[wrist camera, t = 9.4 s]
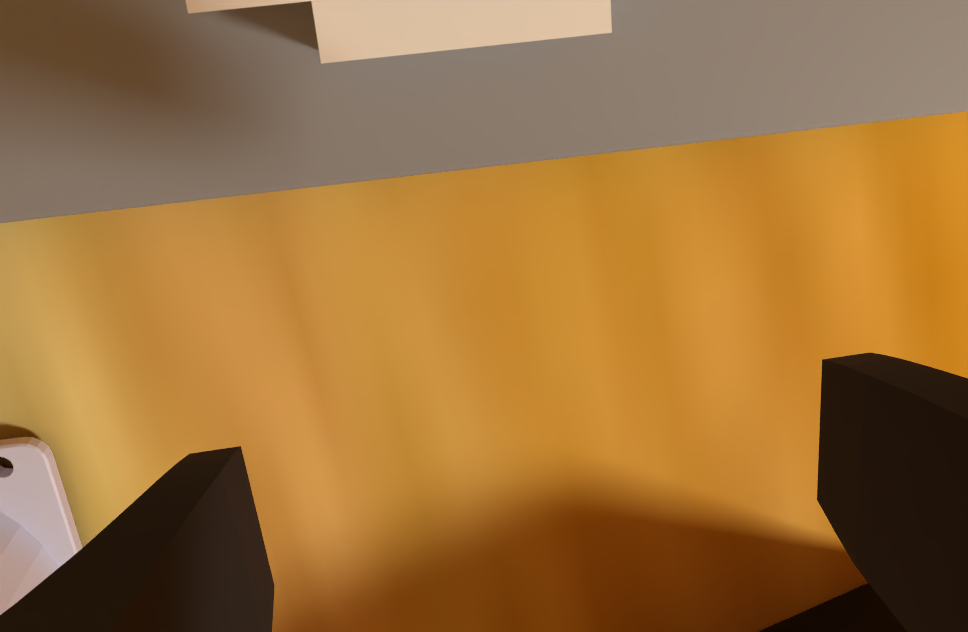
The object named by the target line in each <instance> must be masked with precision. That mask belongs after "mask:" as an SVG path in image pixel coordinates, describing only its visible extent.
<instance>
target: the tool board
mask: <svg viewBox="0 0 968 632" xmlns="http://www.w3.org/2000/svg"><path fill="white" fill-rule="evenodd" d="M966 111H968V0H0V223H5V222H14V221H22V220H31V219H40V218H48V217H57V216H66V215H74V214H83V213H92V212H100V211H109V210H118V209H126V208H135V207H144V206H152V205H161V204H170V203H178V202H187V201H196V200H204V199H213V198H221V197H230V196H239V195H247V194H256V193H265V192H273V191H282V190H291V189H299V188H308V187H317V186H325V185H334V184H343V183H351V182H360V181H369V180H377V179H386V178H395V177H403V176H412V175H421V174H429V173H438V172H447V171H455V170H464V169H473V168H481V167H490V166H499V165H507V164H516V163H525V162H533V161H542V160H550V159H559V158H568V157H576V156H585V155H594V154H602V153H611V152H620V151H628V150H637V149H646V148H654V147H663V146H672V145H680V144H689V143H698V142H706V141H715V140H724V139H732V138H741V137H750V136H758V135H767V134H776V133H784V132H793V131H802V130H810V129H819V128H828V127H836V126H845V125H853V124H862V123H871V122H879V121H888V120H897V119H905V118H914V117H923V116H931V115H940V114H949V113H957V112H966Z"/></svg>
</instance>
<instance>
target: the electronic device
mask: <svg viewBox="0 0 968 632" xmlns="http://www.w3.org/2000/svg"><path fill="white" fill-rule="evenodd" d="M760 632H907V631H906V630H905V628H904V627H903V626H902V625H901V623H900V622H899V621H898V620H897V618H896V617H895V616H894V615H893V613H892V612H891V611H890V610H889V608H888V607H887V606H886V604H885V603H884V602H883V601H882V599H881V598H880V597H879V595H878V594H877V593H876V592H875V590H874V589H873V588H872V587H871V585H870V584H869V583H868V584H866V585H863V586H861V587H859V588H857V589H854V590H852V591H850V592H848V593H845V594H843V595H841V596H839V597H836V598H834V599H832V600H830V601H827V602H825V603H823V604H821V605H818V606H816V607H814V608H812V609H809V610H807V611H805V612H803V613H800V614H798V615H796V616H794V617H791V618H789V619H787V620H785V621H782V622H780V623H778V624H776V625H773V626H771V627H769V628H766V629H764V630H762V631H760Z"/></svg>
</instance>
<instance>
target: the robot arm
mask: <svg viewBox="0 0 968 632" xmlns="http://www.w3.org/2000/svg"><path fill="white" fill-rule="evenodd" d="M0 457H4V458H6V459H8V460H10V461H11V463H12V464H13V468H4V467H2V466H1V465H0V632H272V619H273V601H274V582H273V578H272V574H271V570H270V566H269V562H268V558H267V553H266V549H265V545H264V541H263V537H262V533H261V528H260V524H259V520H258V516H257V512H256V508H255V504H254V499H253V495H252V491H251V487H250V483H249V479H248V474H247V470H246V466H245V462H244V458H243V454H242V449H241V446H239V447H233V448H226V449H219V450H213V451H206V452H199V453H192V454H189V455H187V456H186V457H185V458H183V459H182V460H181V461H179V462H178V463H177V464H176V465H174V466H173V467H172V468H171V469H170V470H169V471H168V472H166V473H165V474H164V475H163V476H162V477H161V478H160V479H159V480H157V481H156V482H155V483H154V484H153V485H152V486H151V487H150V488H149V489H148V490H146V491H145V492H144V493H143V494H142V495H141V496H140V497H139V498H138V499H137V500H136V501H134V502H133V503H132V504H131V505H130V506H129V507H128V508H127V509H126V510H125V511H123V512H122V513H121V514H120V515H119V516H118V517H117V518H116V519H115V520H113V521H112V522H111V523H110V524H109V525H108V526H107V527H106V528H105V529H103V530H102V531H101V532H100V533H99V534H98V535H97V536H96V537H95V538H94V539H92V540H91V541H90V542H89V543H88V544H87V545H86V546H84V547H83V548H82V545H81V542H80V539H79V535H78V532H77V529H76V526H75V523H74V520H73V516H72V513H71V510H70V507H69V504H68V501H67V497H66V494H65V491H64V488H63V485H62V482H61V478H60V475H59V472H58V469H57V466H56V462H55V459H54V456H53V453H52V451H51V450H50V448H49V446H48V445H47V444H45V443H44V442H43V441H42V440H39V439H36V438H34V437H18V438H11V439H3V440H0ZM817 500H818V502H819V504H820V506H821V507H822V509H823V511H824V513H825V515H826V516H827V518H828V520H829V522H830V524H831V525H832V527H833V529H834V531H835V533H836V534H837V536H838V538H839V539H840V541H841V543H842V544H843V546H844V548H845V549H846V551H847V553H848V554H849V556H850V558H851V559H852V561H853V563H854V564H855V566H856V567H857V568H858V570H859V571H860V572H861V574H862V575H863V576H864V577H865V579H866V580H867V581H868V583H869V584H870V585H871V587H872V588H873V589H874V590H875V592H876V593H877V594H878V595H879V597H880V598H881V599H882V601H883V602H884V603H885V604H886V606H887V607H888V608H889V610H890V611H891V612H892V613H893V615H894V616H895V617H896V618H897V620H898V621H899V622H900V623H901V625H902V626H903V627H904V628H905V630H906V631H907V632H968V379H967V378H964V377H961V376H958V375H954V374H951V373H948V372H945V371H942V370H938V369H935V368H932V367H928V366H925V365H921V364H918V363H914V362H911V361H907V360H903V359H899V358H895V357H891V356H886V355H881V354H875V353H864V354H857V355H851V356H844V357H837V358H830V359H824V360H822V383H821V410H820V436H819V463H818V490H817Z"/></svg>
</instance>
